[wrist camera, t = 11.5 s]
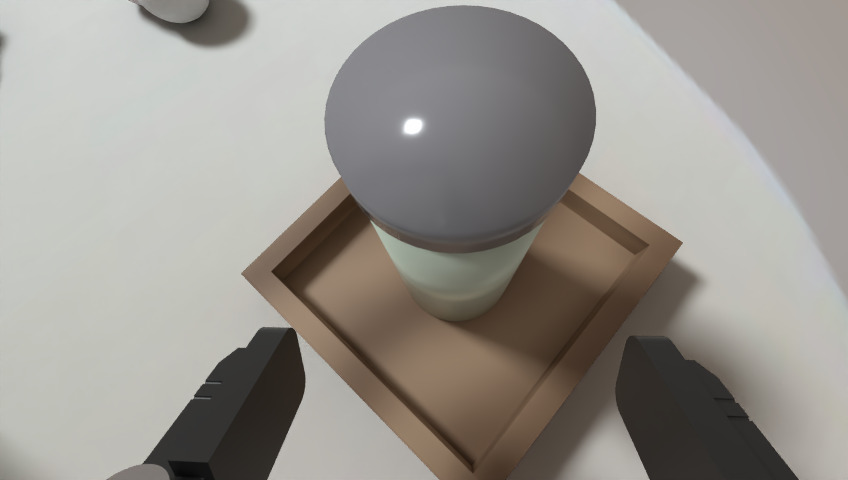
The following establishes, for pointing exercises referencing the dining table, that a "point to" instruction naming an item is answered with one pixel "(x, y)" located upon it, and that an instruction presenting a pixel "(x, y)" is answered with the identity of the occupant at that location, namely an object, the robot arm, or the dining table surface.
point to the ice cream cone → (175, 9)
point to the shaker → (459, 146)
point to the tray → (464, 324)
